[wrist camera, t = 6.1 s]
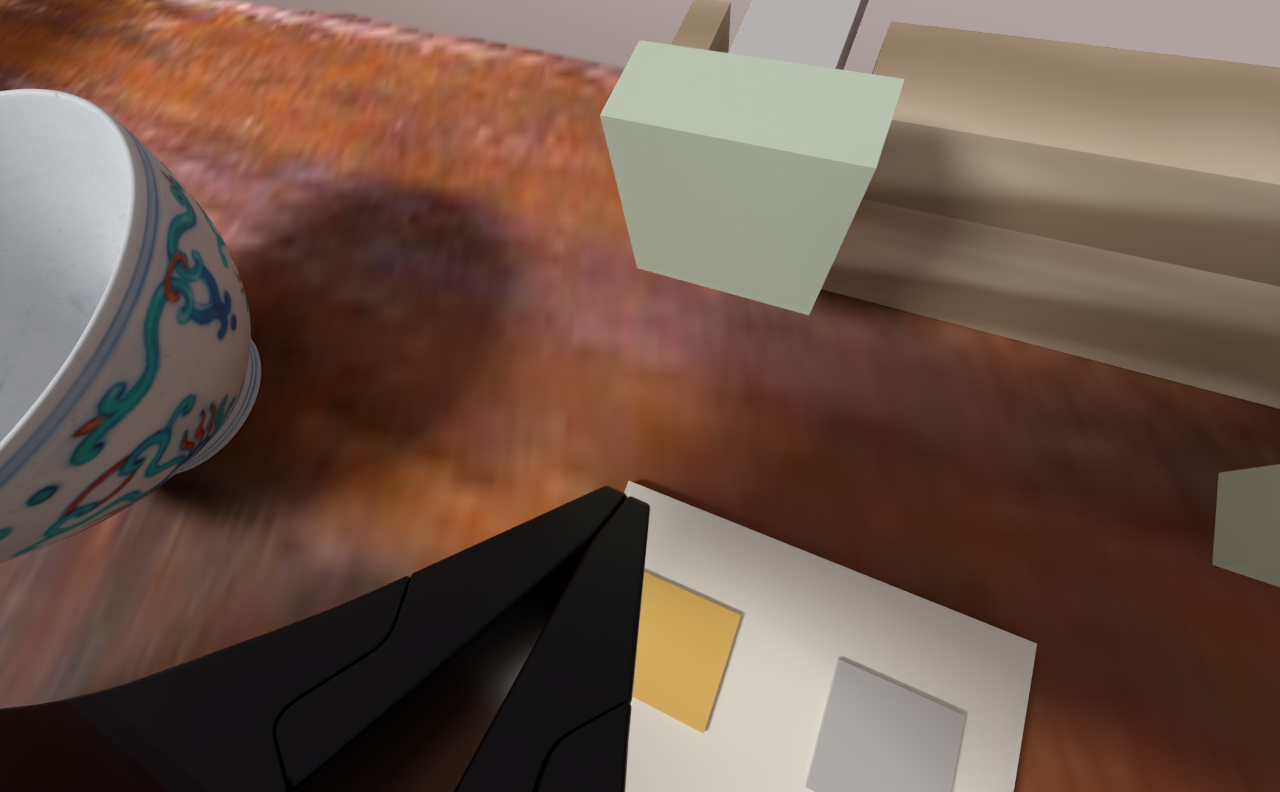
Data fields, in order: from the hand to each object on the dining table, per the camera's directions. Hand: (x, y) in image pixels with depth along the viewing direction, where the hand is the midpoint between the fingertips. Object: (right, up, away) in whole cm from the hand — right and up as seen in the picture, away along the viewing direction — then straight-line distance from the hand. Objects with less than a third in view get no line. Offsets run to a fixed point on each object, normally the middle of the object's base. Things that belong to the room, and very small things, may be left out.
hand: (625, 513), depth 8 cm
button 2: (+4, +10, +6) cm, 13 cm away
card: (+4, -6, +5) cm, 9 cm away
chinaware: (-19, +2, +11) cm, 22 cm away
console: (+11, +6, +8) cm, 15 cm away
